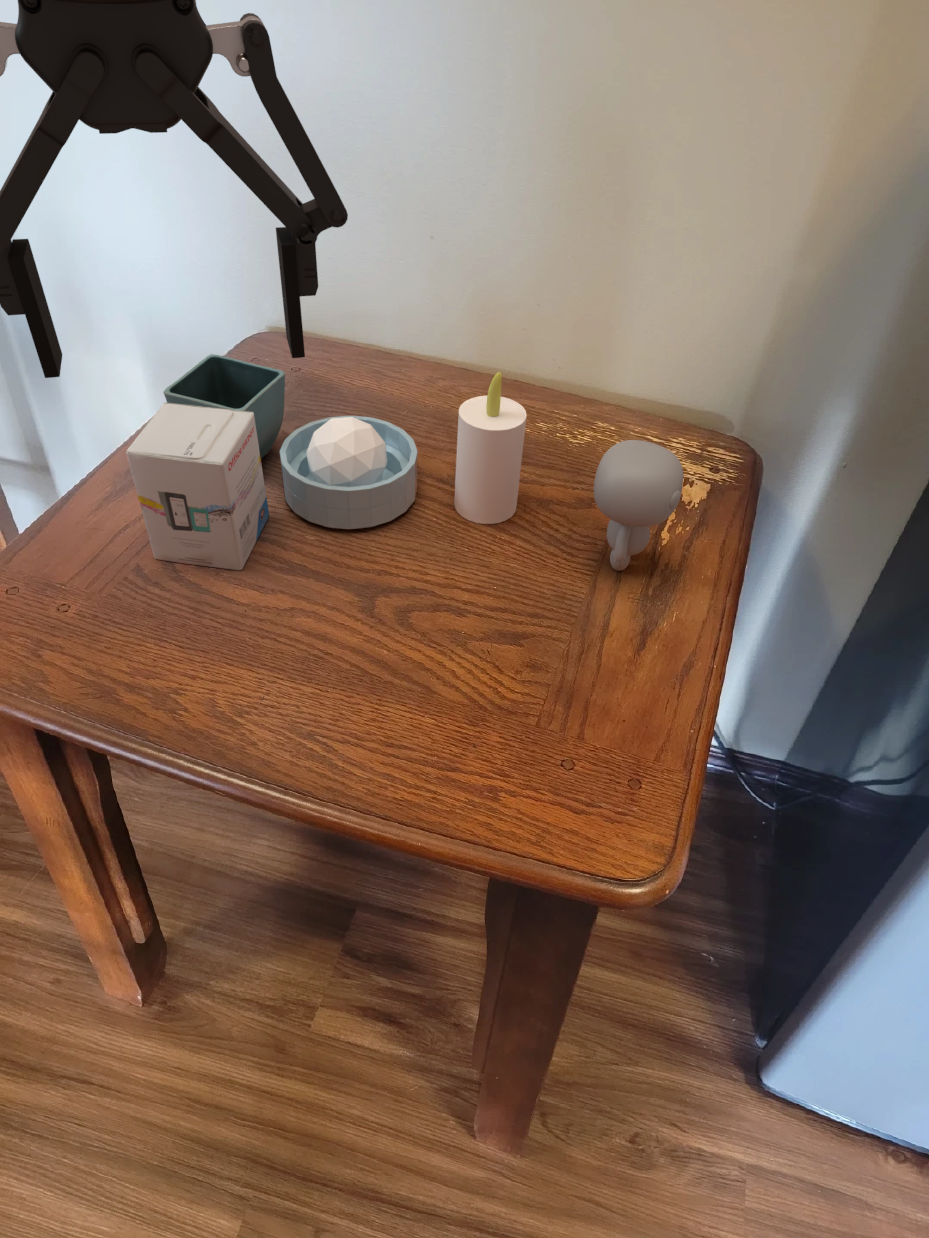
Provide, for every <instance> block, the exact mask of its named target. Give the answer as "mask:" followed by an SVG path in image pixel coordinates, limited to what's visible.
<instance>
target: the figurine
mask: <svg viewBox="0 0 929 1238" xmlns="http://www.w3.org/2000/svg"><path fill="white" fill-rule="evenodd" d="M684 475H685V474H684V469H683V464H682V462H681V461H680V458H678V456H677V455H676V454H675V453H674V452H672V451H671V450H669V449H667V448H666V447H664V446H662V445H659V444H657V443H654V442H652V441H651V442H650V441H646V440H641V439H627V440H623V441H619V442H617V443H615V444H613V445H612V446H611V447H610V448H609V449H607V450H606V451H605V453H604V454H603V456H602V458H601V459H600V461H599V464H598V465H597V468H596V471H595V476H594V480H593V499H594V502H595V505H596V507H597V508H598V510H599V511H600V512H601V513H602V515H604V516H605V517H606V518H608V519H609V522H608V524H607V528H606V540H607V543H608V545H609V547H610V548H611V551H610V554H609V555H610V556H609V561H610V565H611V568H612V569H613V570H614V571H618V572H621V571H624V570H625V569H626V568H628V566H629V563H630V561H631V556H634V555H638V554H640V553H641V552H643V551H644V550H645V549H646V548H647V546H648V545H649V542H650V539H651V529H650V527H655V526H657V525H660V524H662V523H663V522H665V521H666V520H668V519H669V518H670V517H671V516H672V514H673V513H674V512H675V511H676V509H677V508H678V505H679V503H680V499H681V497H682V492H683V484H684Z"/></svg>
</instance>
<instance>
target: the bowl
mask: <svg viewBox="0 0 929 1238" xmlns="http://www.w3.org/2000/svg"><path fill="white" fill-rule="evenodd" d="M344 417H353V418H356V419H358V420H361V421H363V422H366V423H368V424H370V425H372V427H373V428H374V429H375V430H376V432H377V433H378V434H379V435H380V437H381V438H382V439H383V441H384V442H385V445H386V453H387V461H388V462H387V464H386V467H385V470H384V473H383V476H382V479H381V482H377V483H374V484H371V485H365V486H355V487H341V486H329V485H324V484H321V483H318V482H317V481H316V480H315V478H314V477H313V476H312V474H311V473H310V470H309V465H308V460H307V455H306V453H307V450H308V447H309V444H310V441H311V438H312V436H313V433H314V432H315V431H316V430H317V429H318V428H320V427H321V426H322V425H324V424H325V423H326V422H327V421H329V420H330V419H331V418H344ZM418 454H419V453H418V448H417V446H416V443H415V440H414V438H413V437H411V435H410V434H408V432H406V430H405V429H403V428H402V427H399V426H397V425H395V424H394V423H391V422H389V421H387V420H383V419H380V418H375V417H372V416H362V415H339V416H329V417H325V418H321V419H317V420H313V421H310V422H308V423H306V424H304V425H302V426H300V427H298V428H296V429H294V430H293V431H292V432H291V433H290V434H289V435H288V436H287V437H286V438H285V439H284V440H283V442H282V444H281V447H280V449H279V459H280V466H281V475H282V485H283V492H284V499H285V502H286V503H287V505H288V506H289V508H290V509H291V510H292V511H293V512H294V513H295V514H296V515H298V516H299V517H301V518H302V519H304V520H306V521H307V522H309V523H313V524H316V525H318V526H323V527H326V528H329V529H330V528H331V529H339V530H340V529H342V530H355V529H356V530H357V529H364V528H373V527H376V526H379V525H383V524H385V523H389V522H391V521H393V520H395V519H396V518H398V517H399V516H401V515H403V514H404V513H406V512H407V510H408V509H409V508H410V507H411V506H412V505H413V503H414V502H415V500H416V496H417V490H418V458H419V457H418V456H419V455H418Z"/></svg>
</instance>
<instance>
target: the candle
mask: <svg viewBox="0 0 929 1238" xmlns="http://www.w3.org/2000/svg"><path fill="white" fill-rule="evenodd" d="M502 374H503V373H502V372H501V371H498V372H497V373H496V374H494V376H493V377H492V380H491V382H490V384H489V387H488V390H487V395H479V396H475V397H471V398H469V399H467V400H465V401H463V403H461V404H460V405H459V408H458V420H457V421H458V422H457V436H456V437H457V438H456V439H457V440H456V458H455V479H454V480H455V481H454V500H453V501H454V502H453V504H454V505H453V506H454V509H455V511H456V513H457V514H458V515H459V516H460V517H462V518H464V519H465V520H467V521H470V522H473V523H475V524H481V525H494V524H499V523H500V524H501V523H502V522H505V521H508V520H509V519H511V518H512V517H513V516H514V515H515V514H516V510H517V506H518V505H517V504H518V498H519V497H518V496H519V488H520V487H519V486H520V479H521V469H522V461H523V451H524V442H525V435H526V434H525V433H526V425H527V424H526V423H527V411H526V409H525V407H524V406H523V405H521V403H519V402H517V401H515V400H513V399H512V398H508V397H504V396H502V383H503V375H502Z"/></svg>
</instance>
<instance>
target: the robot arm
mask: <svg viewBox="0 0 929 1238" xmlns="http://www.w3.org/2000/svg"><path fill="white" fill-rule="evenodd" d="M17 6H18V7H17V8H18V15H17V22H16V23H13V22H5V21H0V77H2V76H3V75H4V73H5V71H6V69H7V66H8V59H9V57H10V56H13V55H20V57H21V58H22V59H23V61H24V62H25V63H26V64H27V65H28V67H30V68H31V70H33V72H34V73H35V74H36V75H37V76H38V77H39V78H40V79H41V80H42V81H43V83H44V84H45V85H46V86H47V87H48V88H49V89H50V90H51V91H52V92H51V94H50V96H49V98H48V99H47V102H46V103H45V105H44V107H43V110H42V111H41V114H40V116H39V117H38V119H37V121H36V123H35V125H34V127H33V129H32V131H31V133H30V135H29V136H28V138H27V140H26V142H25V144H24V145H23V147H22V149H21V150H20V153H19V154H18V157H17V158H16V160H15V162H14V164H13V166H12V167H11V169H10V172H9V173H8V176H7V177H6V178H5V180H4V182H3V185H2V186H1V188H0V307H1V309H2V310H3V311H4V312H5V314H6V315H7V316H21V315H23V316H25V319H26V322H27V326H28V329H29V332H30V335H31V338H32V342H33V344H34V348H35V351H36V354H37V357H38V360H39V363H40V366H41V368H42V373H43V376H44V378H45V379H51V378H60V376H61V368H62V361H63V352H62V348H61V345H60V342H59V338H58V335H57V332H56V328H55V325H54V321H53V318H52V314H51V311H50V308H49V304H48V301H47V298H46V295H45V294H46V293H45V291H44V287H43V284H42V281H41V277H40V275H39V271H38V268H37V263H36V261H35V257H34V253H33V250H32V246H31V243H30V241H29V238H16V239H15V238H13V237H14V235H15V233H16V232H17V229H18V227H19V226H20V224H21V222H22V220H23V219H24V217H25V215H26V213H27V211H28V210H29V208H30V206H31V204H32V203H33V201H34V199H35V198H36V195H37V193H38V192H39V190H40V188H41V186H42V185H43V183H44V181H45V179H46V177H47V175H48V174H49V172H50V170H51V168H52V167H53V165H54V163H55V161H56V160H57V158H58V156H59V155H60V152H61V151H62V149H63V147H64V146H65V145H66V143H67V142H68V140H69V138H70V137H71V134H72V133H73V131H74V129H75V127H76V126H77V124H78V122H79V121H80V122H81V123H83V124H84V125H85V126H87V127H89V128H91V129H94V130H97V131H98V133H99V134H100V135H103V134H104V135H105V134H108V135H109V134H119V133H121V132H125V131H128V130H131V129H135V130H138V131H143V132H147V133H151V134H153V133H156V134H157V133H158V134H159V133H168V130H169V129H171V128H173V127H174V126H176V125H177V124H178V123H179V122H180V121H182V122H183V123H184V124H185V125H186V126H187V127H188V128H189V129H190V131H192V132H193V133H194V134H195V135H196V136H197V137H198V139H200V140H201V141H202V142H203V143H204V144H206V145H207V146H208V147H209V148H210V149H211V150H212V151H213V152H214V154H216V155H217V156H218V157H219V159H221V161H223V163H224V164H225V165H226V166H227V167H228V168H229V169H230V170H231V171H232V172H233V173H234V174H235V175H236V176H237V177H238V178H239V179H240V180H241V182H242V183H243V184H244V185H245V186H246V187H247V188H248V189H249V190H250V191H251V192H252V193H253V194H254V195H255V196H256V198H258V200H259V201H261V202H262V204H263V205H264V206H265V207H266V208H267V209H268V210H269V211H270V212H271V213H272V214H273V215H274V217H275V218H276V219H278V220H279V222H280V223H281V224H282V225H283V226H281V227H278V226H277V227H275V236H276V245H277V255H278V265H279V274H280V284H281V295H282V304H283V306H282V307H283V314H284V326H285V335H286V341H287V344H288V348H289V353H290V355H291V358H292V359H299V358H300V359H301V358H306V353H305V341H304V340H305V339H304V330H303V318H302V306H301V297H314V296H315V297H316V295H317V292H318V289H319V277H318V263H317V262H318V261H317V251H316V250H317V248H316V242H317V241H318V236H319V235H320V234H321V233H322V232H324V231H326V230H328V229H330V228H337V229H338V228H341V227H343V226H344V225H345V224H347V221H348V218H349V217H348V216H349V213H348V211H347V209H346V206H345V204H344V202H343V200H342V199H341V196H340V194H339V192H338V191H337V189H336V187H335V185H334V183H333V181H332V179H331V177H330V175H329V174H328V172H327V169H326V167H325V166H324V164H323V162H322V159H321V158H320V157H319V155H318V152H317V151H316V149H315V147H314V145H313V143H312V141H311V139H310V137H309V136H308V134H307V131H306V130H305V127H304V125H303V124H302V122H301V119H300V118H299V116H298V114H297V112H296V111H295V109H294V106H293V104H292V103H291V101H290V99H289V97H288V95H287V93H286V92H285V90H284V88H283V86H282V84H281V82H280V80H279V78H278V75H277V71H276V65H275V60H274V55H273V49H272V45H271V40H270V39H271V38H270V35H269V31H268V29H267V27H266V26H265V24H264V21H263V20H262V18H260V17H259V16H258V15H257V14H255V13H253V12H252V13H251V12H246V13H244V14H243V15H242V16H241V17H240V19H239V20H236V21H229V22H221V23H215V24H206V23H205V21H204V20H203V18H202V15H201V14H200V12H199V9H198V6H197V1H196V0H17ZM214 54H215V55H220V56H222V57H224V58H225V59H226V60H227V61H228V63H229V65H230V67H231V69H232V71H233V72H234V73H235V74H236V75H238V76H240V77H244V78H245V77H250V79H251V81H252V85H253V87H254V89H255V92H256V94H257V96H258V98H259V99H260V102H261V105H263V108H264V110H265V111H266V113H267V115H268V117H269V118H270V120H271V122H272V123H273V125H274V127H275V129H276V131H277V133H278V135H279V137H280V139H281V140H282V142H283V144H284V146H285V147H286V150H287V151H288V153H289V155H290V157H291V159H292V160H293V162H294V164H295V166H296V168H297V169H298V171H299V173H300V175H301V177H302V179H303V180H304V183H305V184H306V186H307V188H308V189H309V191H310V193H311V195H312V197H313V198H312V199H310V200H307V201H306V202H304V203H303V202H302V201H301V200H300V199H299V197H298V196H297V195H296V194H295V193H294V192H293V191H292V190H291V188H289V186H288V185H287V184H286V183H285V182H284V181H283V180H282V179H281V178H280V176H279V175H278V174H276V172H275V171H274V170H273V169H272V168H271V167H270V165H268V163H267V162H266V161H265V160H264V158H262V157H261V156H260V154H259V153H258V152H257V151H256V150H255V149H254V148H253V147H252V146H251V144H249V142H248V141H247V140H246V139H245V138H244V137H243V136H242V135H241V134H240V133H239V132H238V131H237V129H236V128H235V127H234V126H233V125H232V123H230V121H228V120H227V118H225V116H224V115H223V114H222V112H220V110H219V109H218V107H217V106H216V105H215V104H214V102H213V101H212V100H211V99H210V98H209V97H208V96H207V94H206V93H205V92H204V91H203V90H202V89H201V87H199V86H200V83H201V82H202V80H203V77H204V76H205V74H206V72H207V70H208V68H209V66H210V64H211V61H212V59H213V57H214V56H213V55H214Z"/></svg>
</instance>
